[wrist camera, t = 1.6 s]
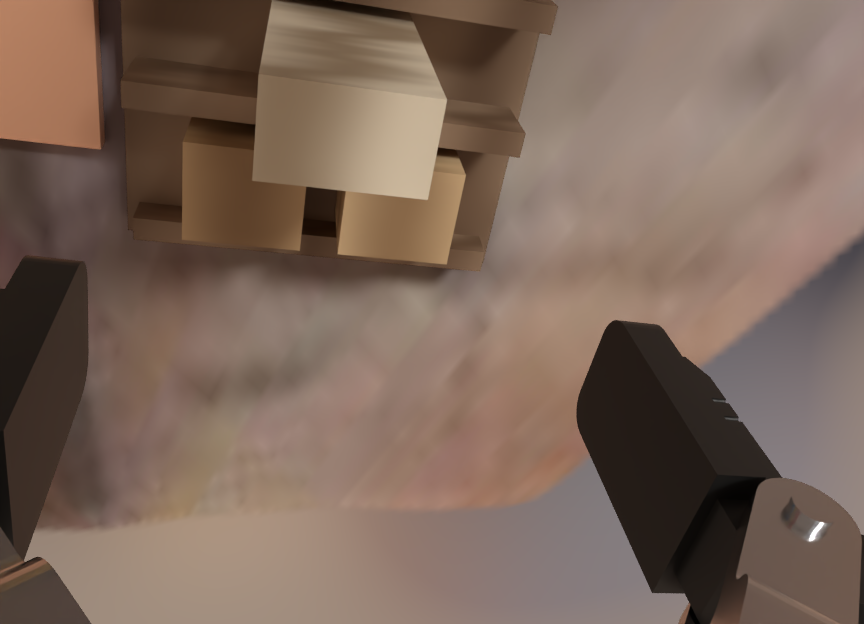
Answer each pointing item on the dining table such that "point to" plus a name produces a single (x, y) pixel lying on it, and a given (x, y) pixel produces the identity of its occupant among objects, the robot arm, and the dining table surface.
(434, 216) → the offcut
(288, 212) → the offcut
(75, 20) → the tile
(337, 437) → the dining table surface
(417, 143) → the long beige rectangular prism
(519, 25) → the rack
